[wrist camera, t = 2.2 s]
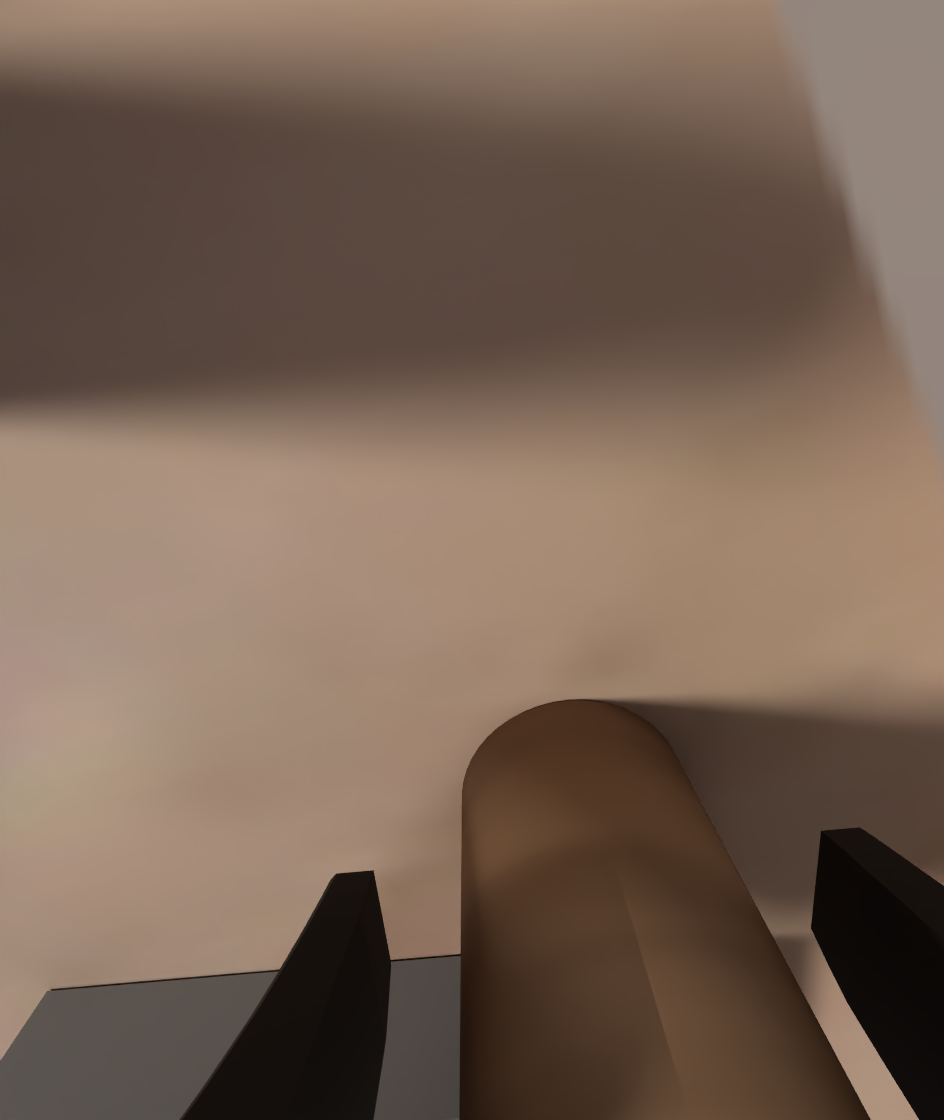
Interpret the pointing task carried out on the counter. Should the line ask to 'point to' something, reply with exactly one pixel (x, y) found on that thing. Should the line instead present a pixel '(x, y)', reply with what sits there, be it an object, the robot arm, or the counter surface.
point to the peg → (619, 942)
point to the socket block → (212, 1046)
